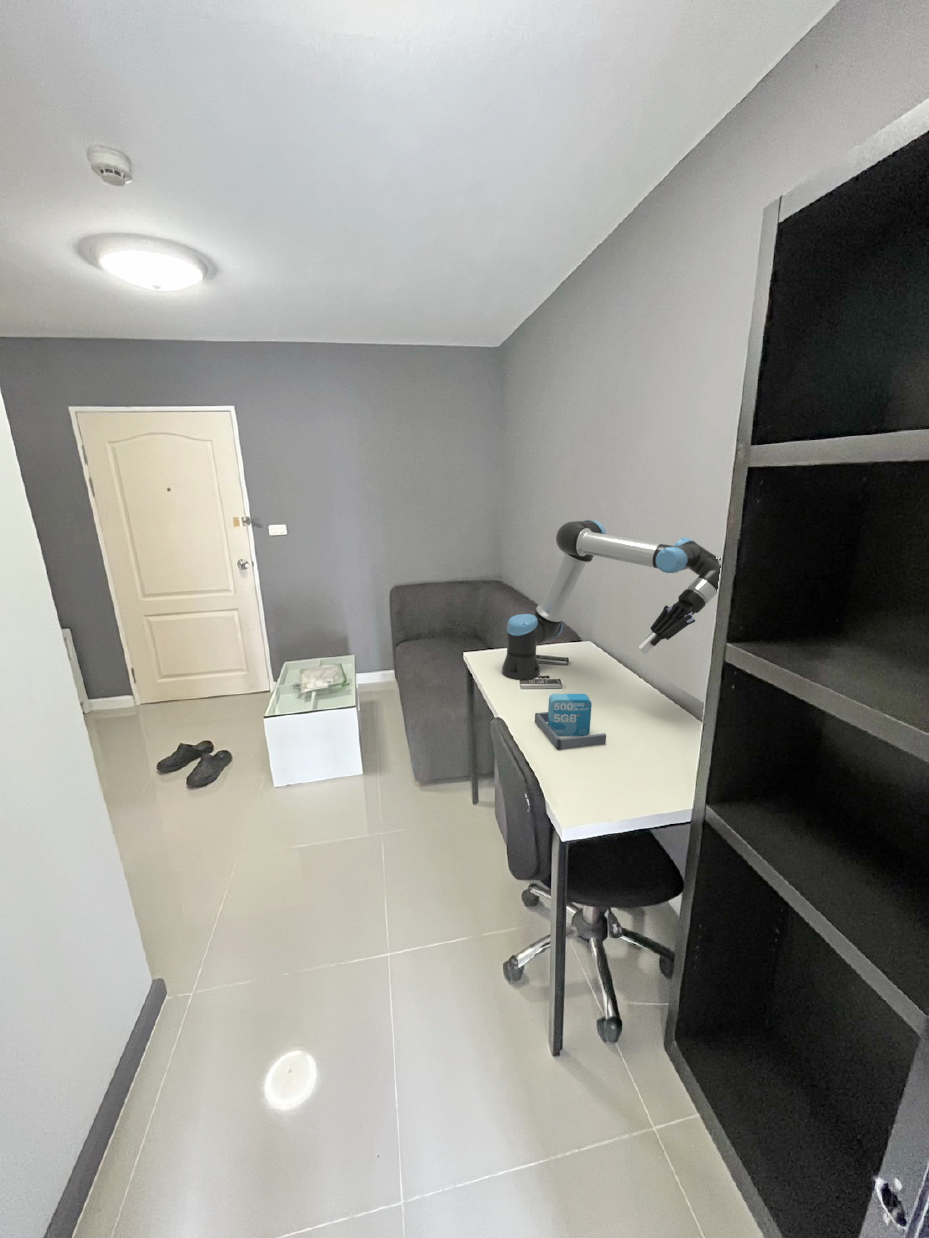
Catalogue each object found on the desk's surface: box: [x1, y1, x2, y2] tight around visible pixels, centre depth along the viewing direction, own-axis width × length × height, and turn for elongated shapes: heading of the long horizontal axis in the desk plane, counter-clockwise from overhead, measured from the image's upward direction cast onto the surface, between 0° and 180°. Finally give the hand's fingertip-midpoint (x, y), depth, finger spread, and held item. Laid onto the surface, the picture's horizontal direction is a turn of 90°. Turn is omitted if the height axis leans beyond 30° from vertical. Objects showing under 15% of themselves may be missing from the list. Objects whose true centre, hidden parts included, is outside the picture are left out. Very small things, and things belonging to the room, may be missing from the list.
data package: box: [547, 693, 592, 737], centre depth 146 cm, size 12×4×12 cm, turn 90°
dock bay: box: [534, 711, 607, 751], centre depth 148 cm, size 18×15×3 cm
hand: (642, 650), depth 150 cm, fingers closed
